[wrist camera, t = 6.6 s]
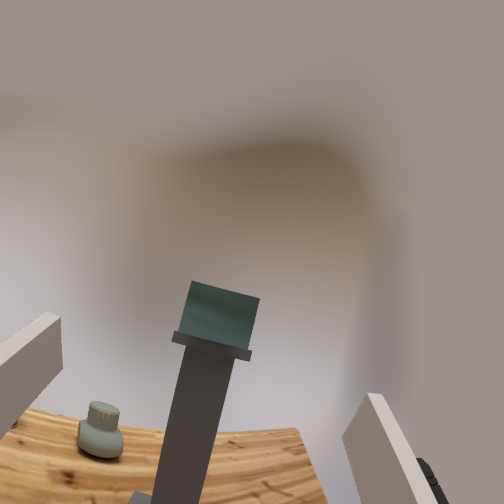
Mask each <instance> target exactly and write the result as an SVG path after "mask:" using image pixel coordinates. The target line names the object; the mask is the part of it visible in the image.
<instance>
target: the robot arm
mask: <svg viewBox="0 0 504 504" xmlns="http://www.w3.org/2000/svg"><path fill="white" fill-rule="evenodd" d="M62 369H63V363H62V346H61V317H59V316H57V315H55V314H52V313H50V312H45V313H44V314H42V315H41V316H40V317H38V318H37V319H36V320H34V321H33V322H31V323H30V324H28V325H27V326H26V327H24V328H23V329H22V330H20V331H19V332H17V333H16V334H15V335H13V336H12V337H11V338H9V339H8V340H7V341H5V342H4V343H3V344H1V345H0V440H1V439H2V437H3V436H4V435H5V434H6V433H7V431H8V430H9V429H10V428H11V427H12V425H13V424H14V423H15V422H16V421H17V420H18V418H19V417H20V416H21V415H22V414H23V413H24V411H25V410H26V409H27V408H28V407H29V406H30V405H31V403H32V402H33V401H34V400H35V399H36V398H37V397H38V395H39V394H40V393H41V392H42V391H43V390H44V389H45V388H46V387H47V385H48V384H49V383H50V382H51V381H52V380H53V379H54V378H55V377H56V375H57V374H58V373H59V372H60V371H61V370H62ZM342 439H343V442H344V446H345V449H346V452H347V455H348V459H349V462H350V465H351V469H352V472H353V476H354V479H355V482H356V486H357V489H358V492H359V496H360V500H361V503H362V504H449V503H448V501H447V499H446V497H445V495H444V493H443V491H442V489H441V487H440V485H438V482H437V479H436V478H434V474H433V472H432V470H431V468H430V466H429V465H428V464H427V463H426V462H425V461H424V460H423V459H422V458H415V456H414V454H413V452H412V450H411V448H410V446H409V445H408V442H407V441H406V439H405V437H404V435H403V433H402V431H401V429H400V427H399V425H398V423H397V422H396V420H395V418H394V416H393V414H392V412H391V411H390V409H389V407H388V405H387V403H386V401H385V399H384V398H383V396H382V394H373V393H367V394H366V396H365V397H364V399H363V401H362V403H361V405H360V407H359V408H358V411H357V412H356V414H355V415H354V417H353V419H352V421H351V423H350V424H349V426H348V428H347V429H346V431H345V432H344V434H343V436H342Z"/></svg>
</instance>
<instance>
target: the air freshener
mask: <svg viewBox="0 0 504 504" xmlns="http://www.w3.org/2000/svg"><path fill="white" fill-rule="evenodd" d="M119 414H120V412H119V410H118V409H117V408H116V407H114V406H112V405H110V404H107V403H103V402H99V401H93V402H91V403H90V406H89V412H88V418H87V419H86V420H82V421H80V422H79V427H78V446H79V447H80V448H82V449H83V450H84V451H86V452H88V453H89V454H91V455H94V456H97V457H102V458H113V457H117V456H120V455H121V454H122V452H123V436H122V433H121V431H120V430H119V429H117V425H118V420H119Z"/></svg>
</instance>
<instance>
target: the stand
mask: <svg viewBox="0 0 504 504" xmlns="http://www.w3.org/2000/svg"><path fill="white" fill-rule="evenodd" d="M172 342H175V343H178V344H182V345H185V346H186V348H185V352H184V356H183V360H182V364H181V368H180V372H179V376H178V380H177V384H176V388H175V393H174V397H173V401H172V406H171V410H170V414H169V419H168V423H167V427H166V432H165V436H164V441H163V445H162V450H161V455H160V459H159V464H158V469H157V474H156V479H155V484H154V489H153V494H152V496H150V495H147V494H144V493H140V492H137V491H134V493H133V495H132V497H131V499H130V501H129V503H128V504H198V503H199V499H200V495H201V492H202V488H203V484H204V480H205V476H206V472H207V468H208V464H209V460H210V456H211V452H212V448H213V444H214V441H215V437H216V433H217V429H218V424H219V420H220V417H221V413H222V409H223V405H224V401H225V396H226V393H227V388H228V384H229V380H230V376H231V372H232V368H233V364H234V360H235V358H236V359H240V360H244V361H250V358H251V354H252V351H251V350H246V349H242V348H238V347H234V346H230V345H226V344H222V343H218V342H214V341H210V340H206V339H203V338H199V337H195V336H192V335H188V334H184V333H181V332H177V331H174V334H173V338H172Z"/></svg>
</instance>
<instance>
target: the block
mask: <svg viewBox="0 0 504 504" xmlns="http://www.w3.org/2000/svg"><path fill="white" fill-rule="evenodd" d="M259 300H260V299H259V298H256V297H252V296H248V295H244V294H240V293H236V292H233V291H228V290H225V289H221V288H217V287H213V286H210V285H206V284H202V283H199V282H195V281H192V282H191V285H190V289H189V292H188V296H187V300H186V303H185V307H184V311H183V314H182V318H181V322H180V326H179V330H178V332H181V333H185V334H188V335H192V336H195V337H199V338H203V339H206V340H210V341H214V342H218V343H222V344H226V345H230V346H234V347H238V348H243V349H247V350H248V346H249V342H250V338H251V334H252V330H253V325H254V321H255V317H256V313H257V309H258V304H259Z"/></svg>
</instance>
